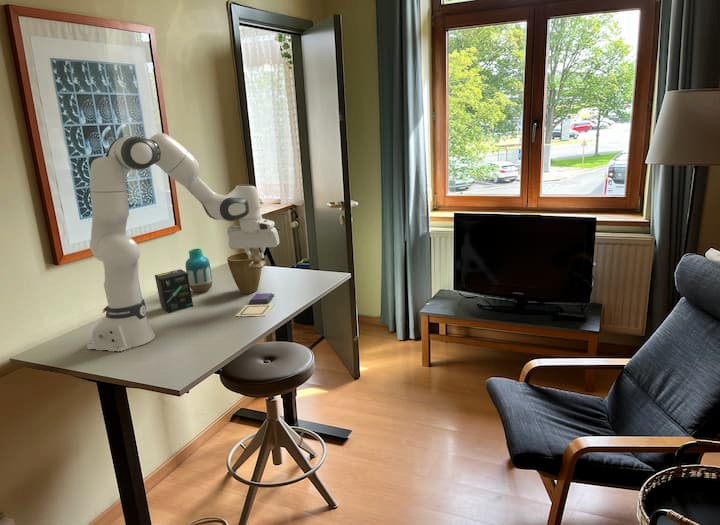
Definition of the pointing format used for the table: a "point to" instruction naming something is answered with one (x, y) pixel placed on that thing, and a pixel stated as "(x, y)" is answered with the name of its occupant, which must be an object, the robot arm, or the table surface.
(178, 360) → the table surface
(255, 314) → the sheet
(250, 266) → the stamp
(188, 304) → the tampon box
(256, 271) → the plant pot
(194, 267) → the vase
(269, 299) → the ink pad
